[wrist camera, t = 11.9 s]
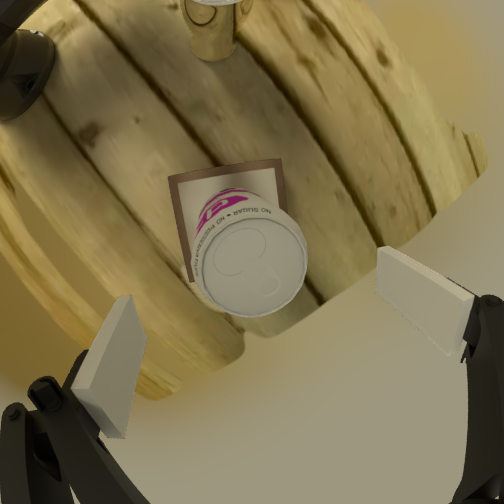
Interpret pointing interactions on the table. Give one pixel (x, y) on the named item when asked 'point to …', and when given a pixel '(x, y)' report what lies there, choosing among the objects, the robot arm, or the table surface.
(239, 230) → the supplement can
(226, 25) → the metal tumbler
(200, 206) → the base
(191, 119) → the table surface
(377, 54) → the table surface
